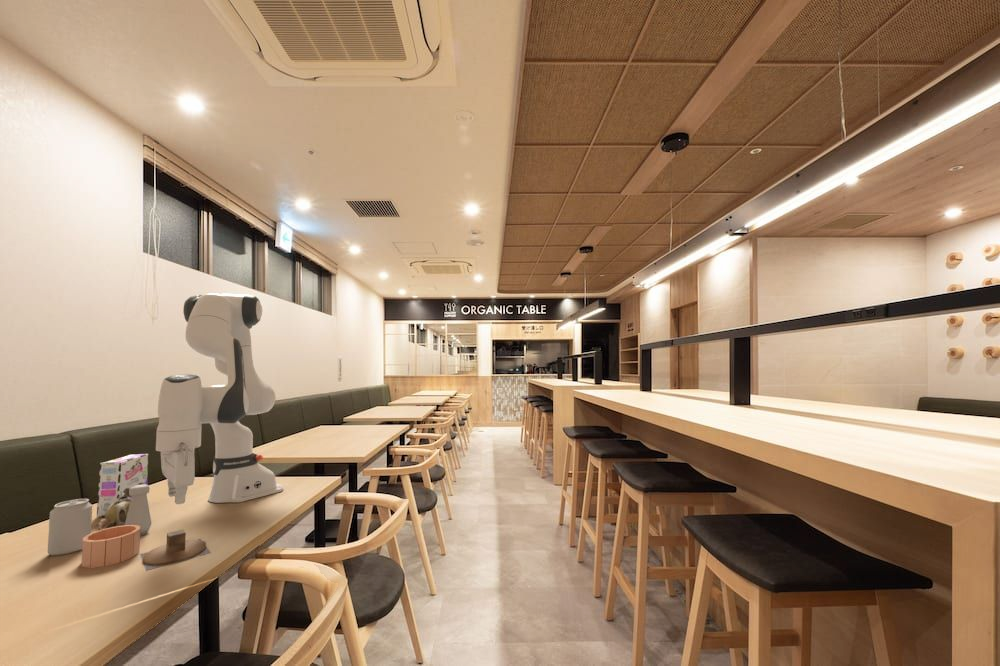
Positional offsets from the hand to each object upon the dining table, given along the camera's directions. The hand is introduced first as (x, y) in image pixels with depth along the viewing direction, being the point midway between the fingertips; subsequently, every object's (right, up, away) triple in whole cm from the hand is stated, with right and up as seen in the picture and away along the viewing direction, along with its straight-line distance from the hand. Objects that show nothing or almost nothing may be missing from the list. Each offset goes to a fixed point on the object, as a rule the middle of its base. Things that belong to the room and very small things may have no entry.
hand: (176, 499), depth 102 cm
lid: (0, -13, -1) cm, 13 cm away
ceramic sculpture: (-30, -16, +19) cm, 39 cm away
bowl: (-14, -13, -2) cm, 19 cm away
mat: (0, -13, -1) cm, 13 cm away
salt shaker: (-20, -15, +13) cm, 28 cm away
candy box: (-43, -17, +34) cm, 57 cm away
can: (-29, -14, +3) cm, 32 cm away
